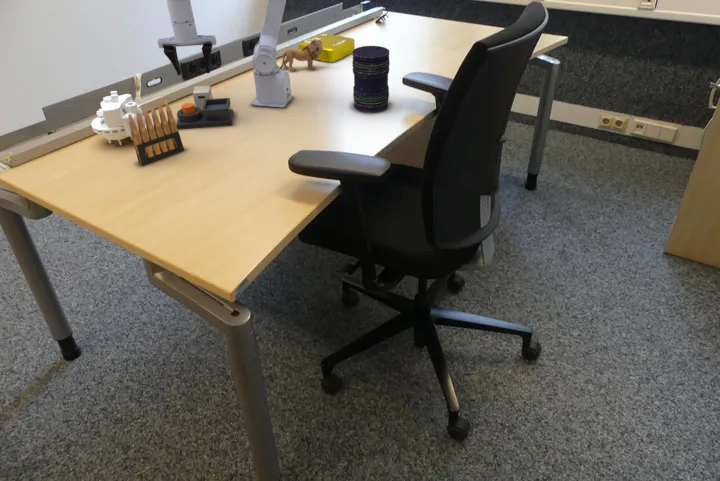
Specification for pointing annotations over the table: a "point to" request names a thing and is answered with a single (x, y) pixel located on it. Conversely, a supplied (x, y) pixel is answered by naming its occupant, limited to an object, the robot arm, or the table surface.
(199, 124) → the black docking base
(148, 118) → the ammunition clip
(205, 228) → the table surface
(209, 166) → the table surface
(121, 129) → the mechanical part
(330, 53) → the element tile
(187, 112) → the power button
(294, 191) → the table surface
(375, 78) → the storage jar
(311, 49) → the lion figurine
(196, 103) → the block
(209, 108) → the adapter socket
